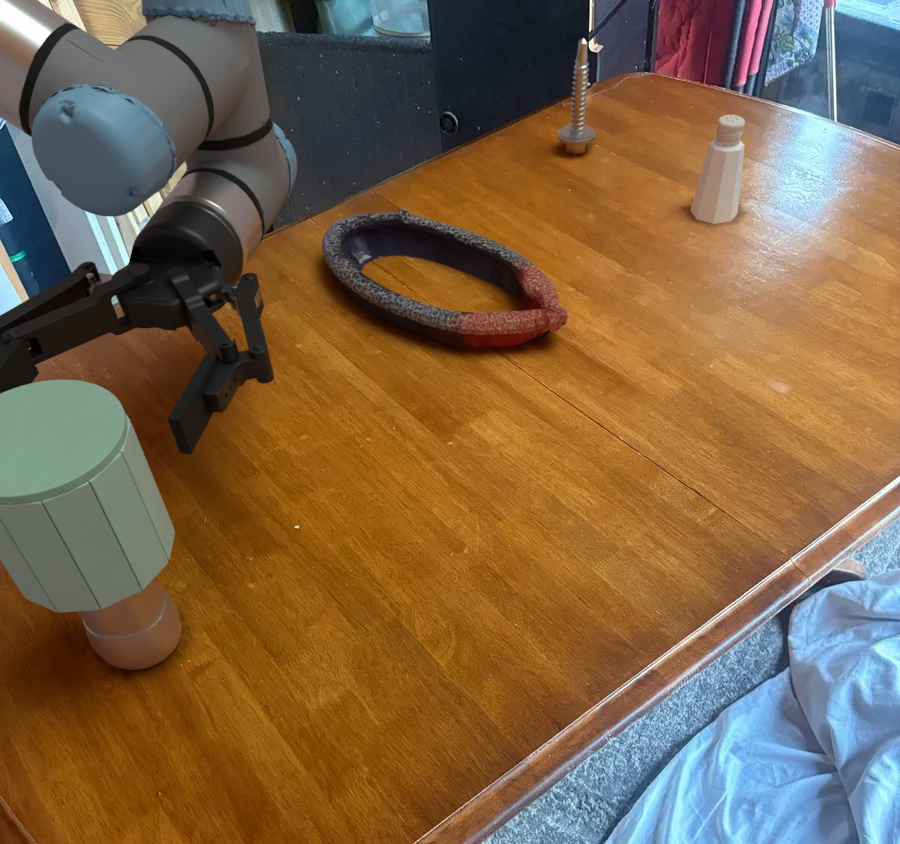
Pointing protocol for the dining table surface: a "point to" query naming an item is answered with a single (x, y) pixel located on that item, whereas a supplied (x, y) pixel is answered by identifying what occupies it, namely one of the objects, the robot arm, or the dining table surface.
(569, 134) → the screw
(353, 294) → the grey speckled oval ring
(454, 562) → the dining table surface
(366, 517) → the dining table surface
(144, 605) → the plastic bottle
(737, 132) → the salt shaker
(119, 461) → the green ribbed canister
